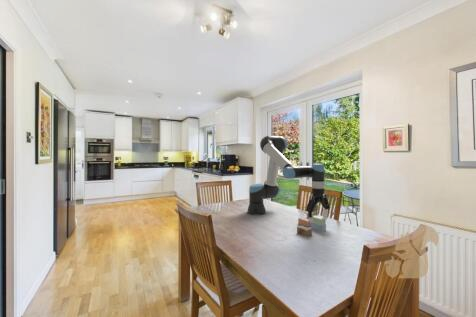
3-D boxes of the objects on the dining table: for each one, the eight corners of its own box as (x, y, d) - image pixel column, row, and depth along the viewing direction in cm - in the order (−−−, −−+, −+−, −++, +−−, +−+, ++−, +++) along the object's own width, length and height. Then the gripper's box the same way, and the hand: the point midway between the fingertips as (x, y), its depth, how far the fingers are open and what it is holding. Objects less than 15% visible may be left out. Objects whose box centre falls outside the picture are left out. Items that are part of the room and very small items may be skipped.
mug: (317, 217, 166) (317, 203, 166) (320, 221, 157) (320, 206, 156) (301, 217, 167) (301, 203, 166) (303, 221, 157) (303, 206, 157)
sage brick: (325, 224, 138) (325, 218, 138) (321, 225, 136) (321, 219, 136) (315, 221, 145) (315, 215, 145) (311, 222, 143) (311, 216, 142)
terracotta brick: (298, 223, 152) (298, 218, 152) (302, 222, 154) (302, 217, 154) (307, 227, 145) (307, 221, 145) (311, 226, 147) (311, 220, 147)
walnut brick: (297, 233, 135) (296, 226, 135) (301, 231, 137) (301, 225, 137) (307, 237, 128) (307, 230, 128) (311, 235, 130) (311, 229, 130)
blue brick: (311, 228, 142) (311, 222, 142) (314, 227, 145) (314, 221, 145) (322, 232, 136) (322, 225, 136) (325, 230, 139) (325, 224, 138)
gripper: (309, 190, 130) (309, 225, 130) (335, 186, 143) (335, 218, 143) (300, 188, 136) (300, 222, 137) (325, 185, 149) (325, 216, 150)
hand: (318, 220), depth 140 cm, fingers open, 13 cm apart
